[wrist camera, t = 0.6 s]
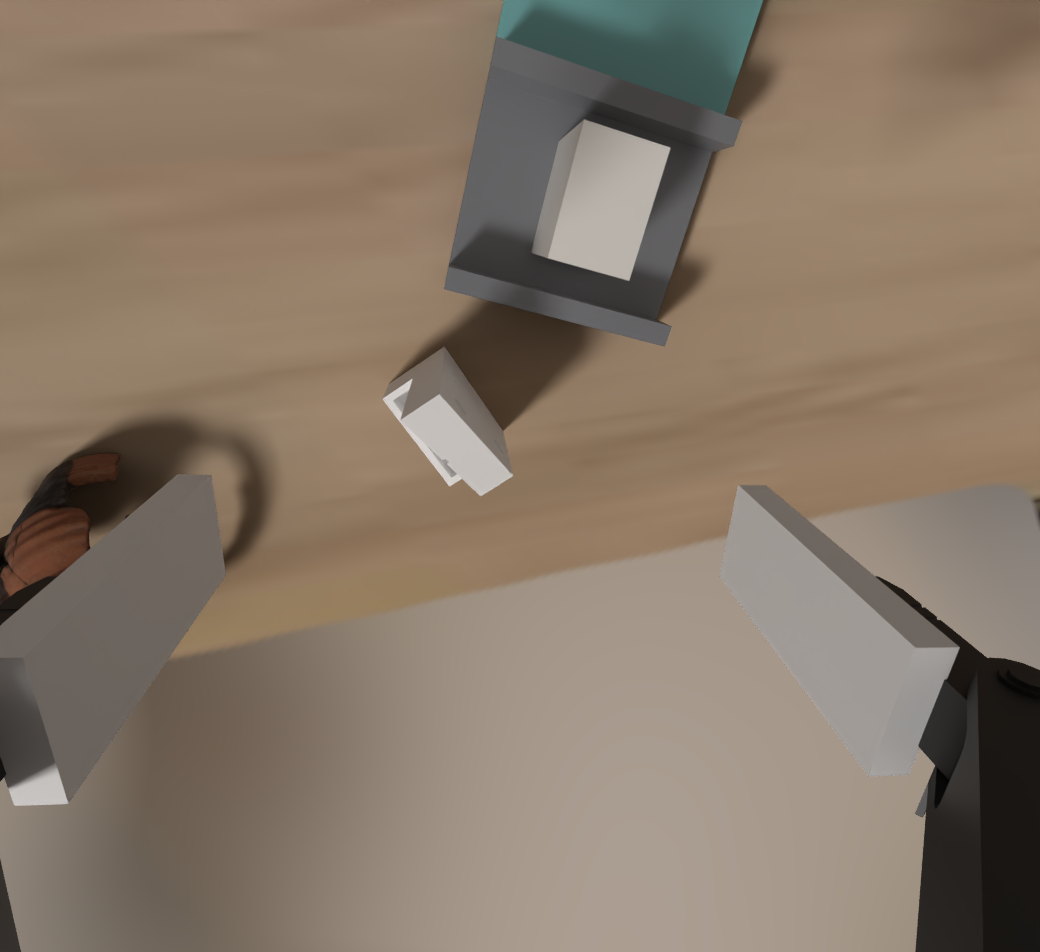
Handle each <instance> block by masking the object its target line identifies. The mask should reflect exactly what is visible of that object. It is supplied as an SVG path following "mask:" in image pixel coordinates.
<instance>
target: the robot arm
mask: <svg viewBox="0 0 1040 952" xmlns="http://www.w3.org/2000/svg"><path fill="white" fill-rule="evenodd" d="M225 576H226V572H225V566H224V559H223V552H222V545H221V538H220V531H219V524H218V517H217V510H216V504H215V497H214V490H213V483H212V476H211V475H184V474H177V475H176V476H175V477H174V478H173V479H171V480H170V481H169V482H168V483H167V484H166V485H164V486H163V487H162V488H161V489H160V490H159V491H157V492H156V493H155V494H154V495H153V496H152V497H150V498H149V499H148V500H147V501H146V502H145V503H143V504H142V505H141V506H140V507H139V508H137V509H136V510H135V511H134V512H133V513H132V514H130V515H129V516H128V517H127V518H126V519H125V520H123V521H122V522H121V523H120V524H119V525H118V526H116V527H115V528H114V529H113V530H112V531H110V532H109V533H108V534H107V535H106V536H105V537H103V538H102V539H101V540H100V541H99V542H98V543H96V544H95V545H94V546H93V547H92V548H91V549H89V550H88V551H87V552H86V553H85V554H84V555H82V556H81V557H80V558H79V559H78V560H76V561H75V562H74V563H73V564H72V565H71V566H69V567H68V568H67V569H66V570H65V571H64V572H62V573H61V574H60V575H59V576H47V577H45V578H43V579H41V580H39V581H37V582H35V583H33V584H31V585H29V586H27V587H25V588H23V589H21V590H18V591H16V592H15V593H14V594H13V595H12V596H10V597H9V598H8V599H7V600H5V601H4V602H3V603H2V604H0V781H1V780H2V779H3V778H5V780H6V783H7V786H8V789H9V792H10V794H11V797H12V800H13V803H14V806H18V805H48V804H68V803H69V802H70V801H71V799H72V798H73V796H74V795H75V793H76V792H77V791H78V789H79V788H80V786H81V785H82V783H83V782H84V780H85V779H86V778H87V776H88V774H89V773H90V771H91V770H92V769H93V767H94V766H95V764H96V763H97V762H98V760H99V758H100V757H101V756H102V754H103V753H104V751H105V750H106V748H107V747H108V745H109V744H110V743H111V741H112V740H113V738H114V737H115V735H116V734H117V732H118V731H119V730H120V728H121V727H122V725H123V724H124V722H125V721H126V719H127V718H128V717H129V715H130V713H131V712H132V711H133V709H134V708H135V706H136V705H137V703H138V702H139V700H140V699H141V698H142V696H143V695H144V693H145V692H146V690H147V689H148V687H149V686H150V684H151V683H152V682H153V680H154V679H155V677H156V676H157V674H158V673H159V671H160V670H161V669H162V667H163V666H164V664H165V663H166V661H167V660H168V658H169V657H170V656H171V654H172V653H173V651H174V650H175V648H176V647H177V645H178V644H179V642H180V641H181V640H182V638H183V637H184V635H185V634H186V632H187V631H188V629H189V628H190V626H191V625H192V624H193V622H194V621H195V619H196V618H197V616H198V615H199V613H200V612H201V610H202V609H203V608H204V606H205V605H206V603H207V602H208V600H209V599H210V597H211V596H212V595H213V593H214V592H215V590H216V589H217V587H218V586H219V584H220V583H221V581H222V580H223V579H224V577H225ZM719 577H720V578H721V579H722V581H723V582H724V583H725V585H726V586H727V587H728V589H729V590H730V591H731V593H732V594H733V595H734V597H735V598H736V599H737V601H738V602H739V603H740V605H741V606H742V608H743V609H744V610H745V612H746V613H747V614H748V616H749V617H750V618H751V620H752V621H753V622H754V624H755V625H756V626H757V628H758V629H759V630H760V632H761V633H762V634H763V636H764V637H765V638H766V640H767V641H768V642H769V644H770V645H771V646H772V648H773V649H774V650H775V652H776V653H777V655H778V656H779V657H780V659H781V660H782V661H783V662H784V664H785V665H786V667H787V668H788V669H789V671H790V672H791V673H792V675H793V676H794V677H795V679H796V680H797V681H798V683H799V684H800V685H801V687H802V688H803V689H804V691H805V692H806V693H807V695H808V696H809V697H810V699H811V700H812V702H813V703H814V704H815V705H816V707H817V708H818V710H819V711H820V712H821V714H822V715H823V716H824V718H825V719H826V720H827V722H828V723H829V724H830V726H831V727H832V728H833V730H834V731H835V732H836V734H837V735H838V736H839V738H840V739H841V740H842V742H843V743H844V745H845V746H846V747H847V748H848V750H849V751H850V753H851V754H852V755H853V756H854V758H855V759H856V761H857V762H858V763H859V765H860V766H861V767H862V768H863V770H864V771H865V773H866V774H867V775H868V776H889V775H890V776H892V775H909V772H910V770H911V767H912V765H913V763H914V760H915V757H916V755H917V752H918V750H919V748H921V750H922V751H923V752H924V753H925V754H926V755H927V756H928V757H929V759H930V760H931V761H932V762H933V763H934V764H935V768H934V770H933V772H932V775H931V777H930V779H929V782H928V784H927V787H926V789H925V792H924V794H923V796H922V798H921V801H920V803H919V806H918V808H917V810H916V813H915V814H916V815H918V816H920V817H923V815H924V814H925V812H926V820H925V833H924V847H923V860H922V873H921V886H920V899H919V913H918V927H917V939H916V952H1040V670H1038V669H1035V668H1033V667H1031V666H1028V665H1026V664H1023V663H1020V662H1016V661H1012V660H1008V659H1001V658H987V657H985V656H984V655H983V654H982V653H980V652H979V651H978V650H977V649H975V648H974V647H973V646H972V645H971V644H969V643H968V642H967V641H966V640H964V639H963V638H962V637H961V636H960V635H958V634H957V633H956V632H954V631H953V630H952V629H951V628H950V627H948V626H947V625H946V624H945V623H943V622H942V621H941V620H937V617H936V616H935V615H934V614H932V613H931V612H930V611H929V610H928V609H926V608H922V606H921V604H920V603H919V602H918V601H916V600H915V599H914V598H913V597H912V596H910V595H909V594H908V593H907V592H905V591H904V590H903V589H901V588H899V587H897V586H895V585H893V584H891V583H890V582H888V581H886V580H884V579H882V578H880V577H877V576H876V577H875V576H874V575H873V574H871V573H870V572H869V571H868V570H867V569H865V568H864V567H863V566H862V565H861V564H860V563H858V562H857V561H856V560H855V559H854V558H852V557H851V556H850V555H849V554H848V553H846V552H845V551H844V550H843V549H841V548H840V547H839V546H838V545H837V544H836V543H834V542H833V541H832V540H831V539H830V538H828V537H827V536H826V535H825V534H824V533H822V532H821V531H820V530H819V529H818V528H816V527H815V526H814V525H813V524H812V523H810V522H809V521H808V520H807V519H806V518H805V517H803V516H802V515H801V514H800V513H799V512H797V511H796V510H795V509H794V508H793V507H791V506H790V505H789V504H788V503H787V502H785V501H784V500H783V499H782V498H781V497H779V496H778V495H777V494H776V493H775V492H773V491H772V490H771V489H770V488H769V487H767V486H766V485H738V489H737V494H736V498H735V503H734V508H733V513H732V518H731V522H730V527H729V532H728V537H727V542H726V547H725V551H724V556H723V561H722V565H721V570H720V575H719ZM0 952H21V950H20V946H19V941H18V937H17V932H16V928H15V923H14V919H13V914H12V910H11V905H10V901H9V896H8V892H7V888H6V884H5V879H4V874H3V870H2V865H1V861H0Z"/></svg>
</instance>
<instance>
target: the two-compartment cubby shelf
mask: <svg viewBox="0 0 1040 952" xmlns="http://www.w3.org/2000/svg"><path fill="white" fill-rule="evenodd" d="M762 2H763V0H504V2H503V7H502V12H501V17H500V22H499V27H498V31H497V36H496V41H495V45H494V50H493V55H492V60H491V65H490V70H489V75H488V80H487V84H486V89H485V94H484V99H483V104H482V109H481V113H480V118H479V123H478V128H477V133H476V137H475V142H474V147H473V152H472V157H471V162H470V166H469V171H468V176H467V181H466V186H465V191H464V195H463V200H462V205H461V210H460V215H459V219H458V224H457V229H456V234H455V239H454V244H453V248H452V253H451V258H450V263H449V267H448V272H447V277H446V282H445V287H444V289H446V290H450V291H454V292H457V293H461V294H465V295H469V296H473V297H477V298H480V299H484V300H488V301H492V302H496V303H500V304H503V305H507V306H511V307H515V308H519V309H523V310H526V311H530V312H534V313H538V314H542V315H546V316H549V317H553V318H557V319H561V320H565V321H569V322H572V323H576V324H580V325H584V326H588V327H592V328H595V329H599V330H603V331H607V332H611V333H615V334H619V335H622V336H626V337H630V338H634V339H638V340H642V341H645V342H649V343H653V344H657V345H661V346H665V344H666V341H667V338H668V335H669V333H670V330H671V327H672V326H670V325H667V324H665V323H663V322H661V321H659V320H657V317H658V314H659V311H660V308H661V305H662V302H663V299H664V296H665V293H666V290H667V287H668V284H669V281H670V278H671V275H672V272H673V269H674V266H675V263H676V260H677V257H678V254H679V251H680V248H681V245H682V242H683V239H684V236H685V233H686V230H687V227H688V224H689V221H690V218H691V215H692V212H693V209H694V206H695V203H696V200H697V197H698V194H699V191H700V188H701V185H702V182H703V179H704V176H705V173H706V170H707V167H708V164H709V161H710V158H711V155H712V153H713V152H716V151H719V150H723V149H726V148H729V147H733V146H734V144H735V141H736V138H737V135H738V132H739V129H740V126H741V123H742V121H741V120H738V119H735V118H732V117H729V116H726V115H725V113H726V110H727V107H728V104H729V101H730V98H731V95H732V92H733V89H734V86H735V83H736V80H737V77H738V74H739V71H740V68H741V65H742V62H743V59H744V56H745V53H746V50H747V47H748V44H749V41H750V38H751V35H752V32H753V29H754V26H755V23H756V20H757V17H758V14H759V11H760V8H761V5H762ZM583 120H587V121H590V122H594V123H597V124H600V125H603V126H606V127H609V128H612V129H615V130H618V131H621V132H624V133H627V134H630V135H633V136H636V137H639V138H642V139H645V140H649V141H652V142H655V143H658V144H661V145H664V146H667V147H670V151H669V155H668V158H667V161H666V164H665V167H664V171H663V174H662V177H661V180H660V183H659V187H658V190H657V193H656V196H655V200H654V203H653V206H652V209H651V212H650V216H649V219H648V222H647V225H646V228H645V232H644V235H643V238H642V241H641V244H640V248H639V251H638V254H637V257H636V261H635V264H634V267H633V270H632V273H631V277H630V280H629V281H628V280H624V279H621V278H617V277H614V276H610V275H606V274H603V273H599V272H596V271H592V270H588V269H585V268H581V267H578V266H574V265H571V264H567V263H563V262H560V261H556V260H553V259H549V258H546V257H543V256H540V255H536V254H533V253H531V250H532V246H533V242H534V238H535V234H536V230H537V226H538V222H539V218H540V214H541V210H542V206H543V202H544V198H545V194H546V190H547V186H548V183H549V179H550V175H551V171H552V167H553V163H554V159H555V155H556V151H557V147H558V143H559V141H560V140H561V139H562V138H563V137H564V136H565V135H567V134H568V133H569V132H570V131H571V130H572V129H574V128H575V127H576V126H577V125H578V124H579V123H581V122H582V121H583Z"/></svg>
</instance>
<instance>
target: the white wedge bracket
mask: <svg viewBox="0 0 1040 952" xmlns="http://www.w3.org/2000/svg"><path fill="white" fill-rule="evenodd" d="M383 400H384V402H385V403H386V404H387V406H388V407H389V408H390V409H391V411H392V412H393V413H394V415H395V416H396V417H397V419H398V420H399V421H400V422H401V424H402V425H403V426H404V428H405V429H406V430H407V432H408V433H409V434H410V436H411V437H412V438H413V439H414V441H415V442H416V443H417V445H418V446H419V447H420V449H421V450H422V451H423V452H424V454H425V455H426V456H427V458H428V459H429V460H430V462H431V463H432V464H433V466H434V467H435V468H436V469H437V471H438V472H439V473H440V475H441V476H442V477H443V479H444V480H445V481H446V482H447V484H448V485H449V486H451V485H453V484H454V483H456V482H457V481H459V480H461V479H463V480H464V481H465V482H466V483H467V484H468V485H469V486H470V487H471V488H472V489H473V490H475V491H476V492H477V493H478V494H479V495H480V496H482V495H484V494H485V493H487V492H488V491H490V490H492V489H493V488H495V487H496V486H498V485H499V484H501V483H503V482H504V481H506V480H507V479H509V478H511V477H512V476H513V473H512V469H511V464H510V460H509V455H508V451H507V447H506V442H505V438H504V433H503V430H502V429H501V428H500V426H499V425H498V423H497V422H496V420H495V419H494V417H493V416H492V415H491V413H490V412H489V410H488V409H487V407H486V406H485V404H484V403H483V401H482V400H481V399H480V397H479V396H478V394H477V393H476V391H475V390H474V388H473V387H472V386H471V384H470V383H469V381H468V380H467V378H466V377H465V375H464V374H463V373H462V371H461V370H460V368H459V367H458V365H457V364H456V362H455V361H454V360H453V358H452V357H451V355H450V354H449V352H448V351H447V349H446V348H445V347H443V348H441V349H440V350H438V351H437V352H435V353H434V354H432V355H431V356H429V357H428V358H426V359H425V360H423V361H422V362H421V363H419V364H418V365H416V366H415V367H413V368H412V369H410V370H409V371H407V372H406V373H404V374H403V375H401V376H400V377H398V378H397V379H395V380H394V381H392V382H391V383H389V385H388V387H387V389H386V392H385V394H384V396H383Z"/></svg>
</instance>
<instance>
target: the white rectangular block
mask: <svg viewBox="0 0 1040 952" xmlns="http://www.w3.org/2000/svg"><path fill="white" fill-rule="evenodd" d="M669 151H670V147H667V146H664V145H661V144H658V143H655V142H652V141H649V140H645V139H642V138H639V137H636V136H633V135H630V134H627V133H624V132H621V131H618V130H615V129H612V128H609V127H606V126H603V125H600V124H597V123H594V122H590V121H587V120H583V121H582V122H581V123H579V124H578V125H577V126H576V127H575V128H574V129H572V130H571V131H570V132H569V133H568V134H567V135H565V136H564V137H563V138H562V139H561V140H560V141H559V143H558V147H557V151H556V155H555V159H554V163H553V167H552V171H551V175H550V179H549V183H548V186H547V190H546V194H545V198H544V202H543V206H542V210H541V214H540V218H539V222H538V226H537V230H536V234H535V238H534V242H533V246H532V250H531V253H533V254H536V255H540V256H543V257H546V258H549V259H553V260H556V261H560V262H563V263H567V264H571V265H574V266H578V267H581V268H585V269H588V270H592V271H596V272H599V273H603V274H606V275H610V276H614V277H617V278H621V279H624V280H628V281H629V280H630V277H631V273H632V270H633V267H634V264H635V261H636V257H637V254H638V251H639V248H640V244H641V241H642V238H643V235H644V232H645V228H646V225H647V222H648V219H649V216H650V212H651V209H652V206H653V203H654V200H655V196H656V193H657V190H658V187H659V183H660V180H661V177H662V174H663V171H664V167H665V164H666V161H667V158H668V155H669Z"/></svg>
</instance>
